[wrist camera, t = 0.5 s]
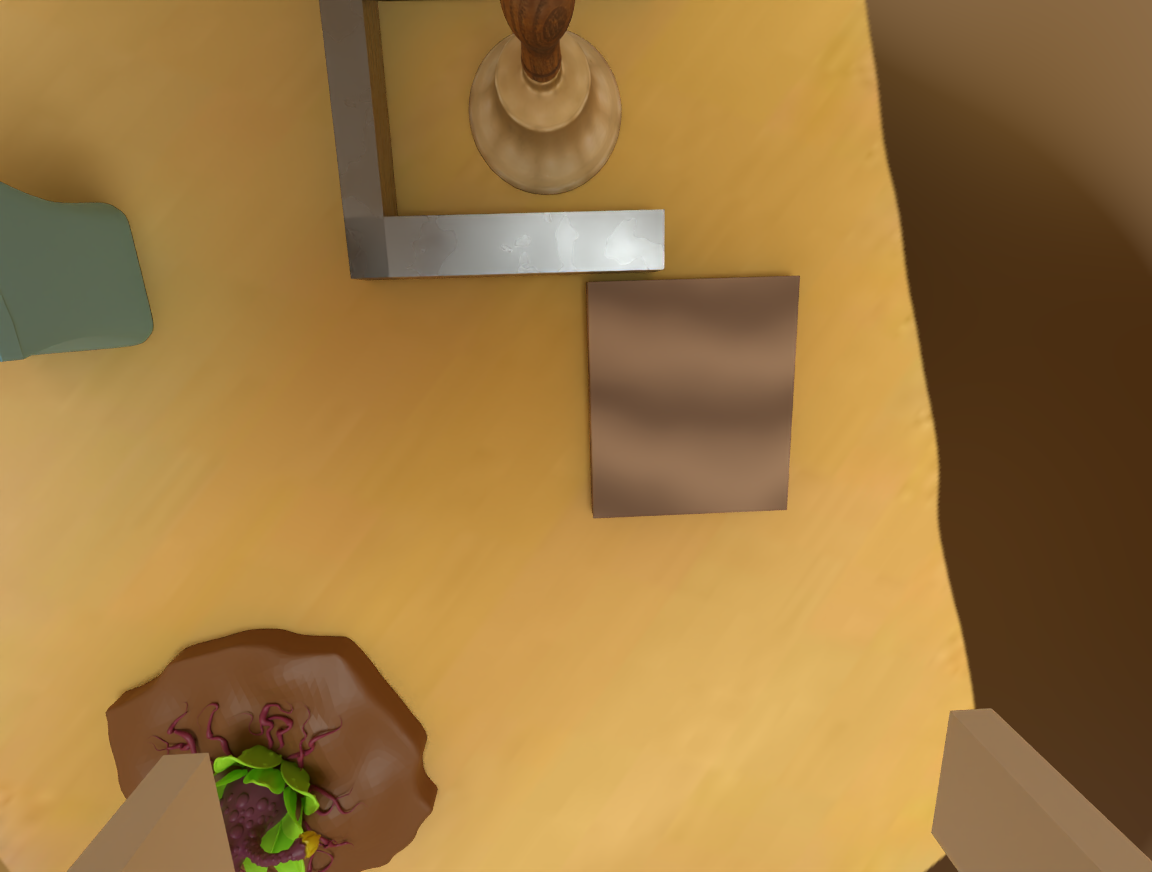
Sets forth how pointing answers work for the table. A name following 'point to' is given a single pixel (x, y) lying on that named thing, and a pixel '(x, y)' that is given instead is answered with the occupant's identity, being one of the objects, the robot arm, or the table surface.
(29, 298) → the light blue holder
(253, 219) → the table surface
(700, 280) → the walnut board
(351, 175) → the silver c-shaped bracket
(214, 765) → the plant
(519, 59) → the hand bell
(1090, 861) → the robot arm
